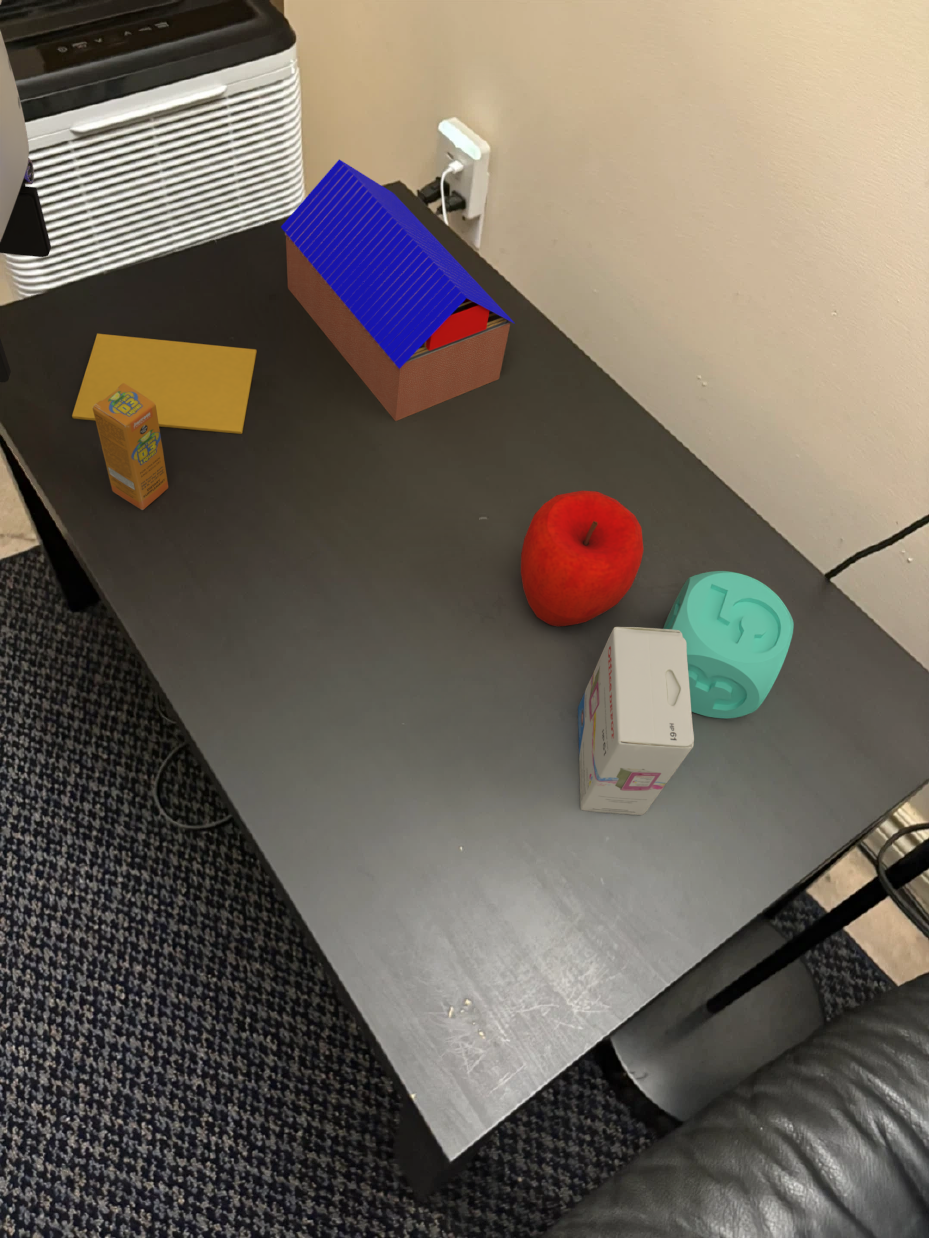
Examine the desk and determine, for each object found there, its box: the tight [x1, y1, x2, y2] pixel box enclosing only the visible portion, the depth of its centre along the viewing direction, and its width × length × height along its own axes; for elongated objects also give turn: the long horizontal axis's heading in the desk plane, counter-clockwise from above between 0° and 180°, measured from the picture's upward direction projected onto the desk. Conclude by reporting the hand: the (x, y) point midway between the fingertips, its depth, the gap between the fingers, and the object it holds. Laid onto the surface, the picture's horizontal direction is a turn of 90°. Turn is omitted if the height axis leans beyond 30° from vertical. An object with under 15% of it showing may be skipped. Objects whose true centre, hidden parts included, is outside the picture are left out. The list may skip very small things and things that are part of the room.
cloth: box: [71, 333, 258, 435], centre depth 84 cm, size 14×10×1 cm
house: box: [280, 159, 515, 422], centre depth 86 cm, size 12×20×12 cm, turn 34°
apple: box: [520, 490, 644, 627], centre depth 73 cm, size 9×9×11 cm
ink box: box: [577, 626, 695, 816], centre depth 66 cm, size 9×5×12 cm, turn 178°
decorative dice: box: [662, 570, 795, 719], centre depth 72 cm, size 8×8×8 cm
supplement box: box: [93, 383, 169, 511], centre depth 74 cm, size 3×3×10 cm
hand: (0, 310), depth 51 cm, fingers open, 9 cm apart
